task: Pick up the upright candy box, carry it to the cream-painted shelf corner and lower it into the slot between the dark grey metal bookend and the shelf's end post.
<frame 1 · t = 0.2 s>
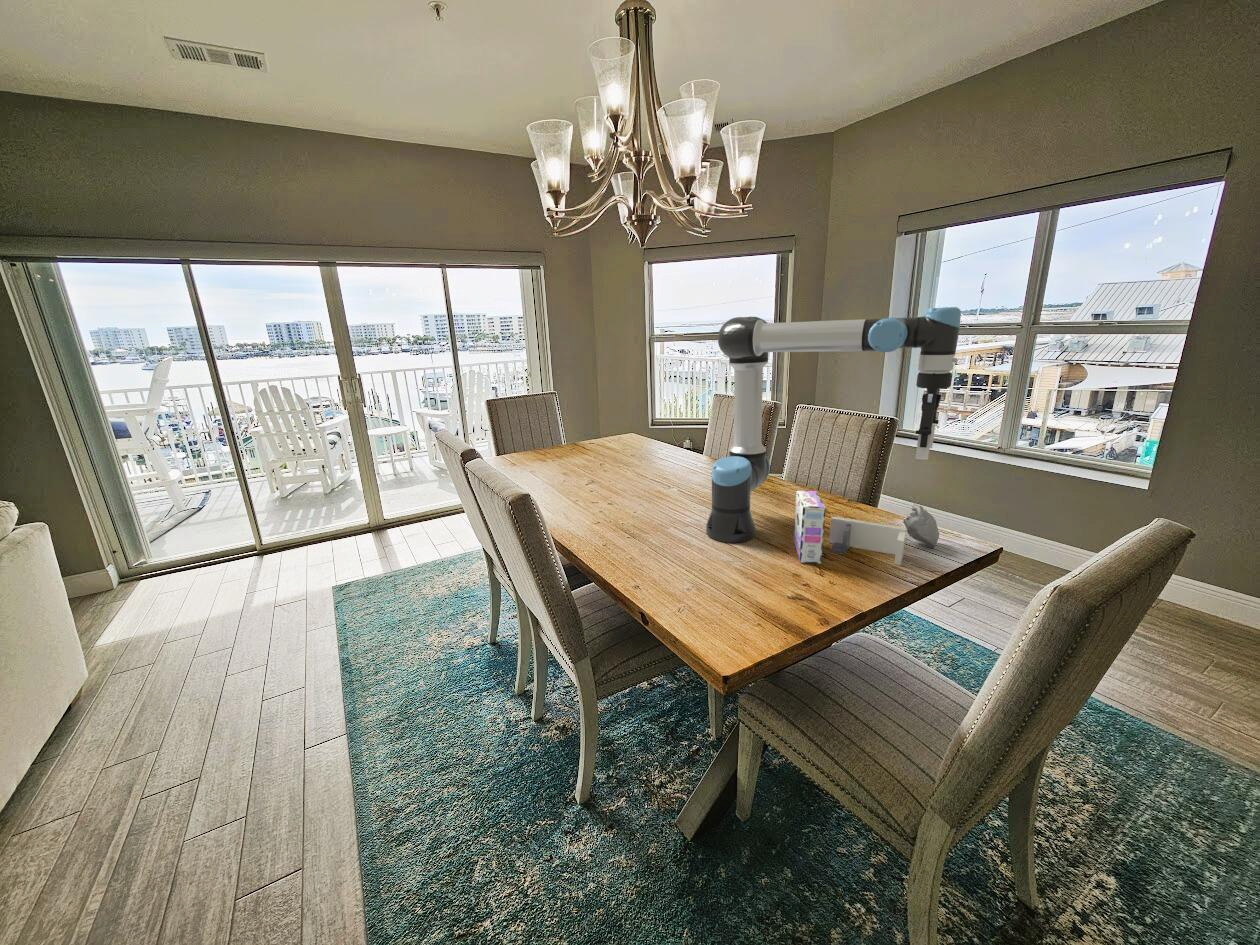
hand: (924, 453, 127), 28 cm above the table, fingers open, 13 cm apart
shelf: (860, 558, 130), on the table
candy box: (806, 553, 135), on the table
heart: (921, 546, 136), on the table
bookend: (845, 550, 136), on the table
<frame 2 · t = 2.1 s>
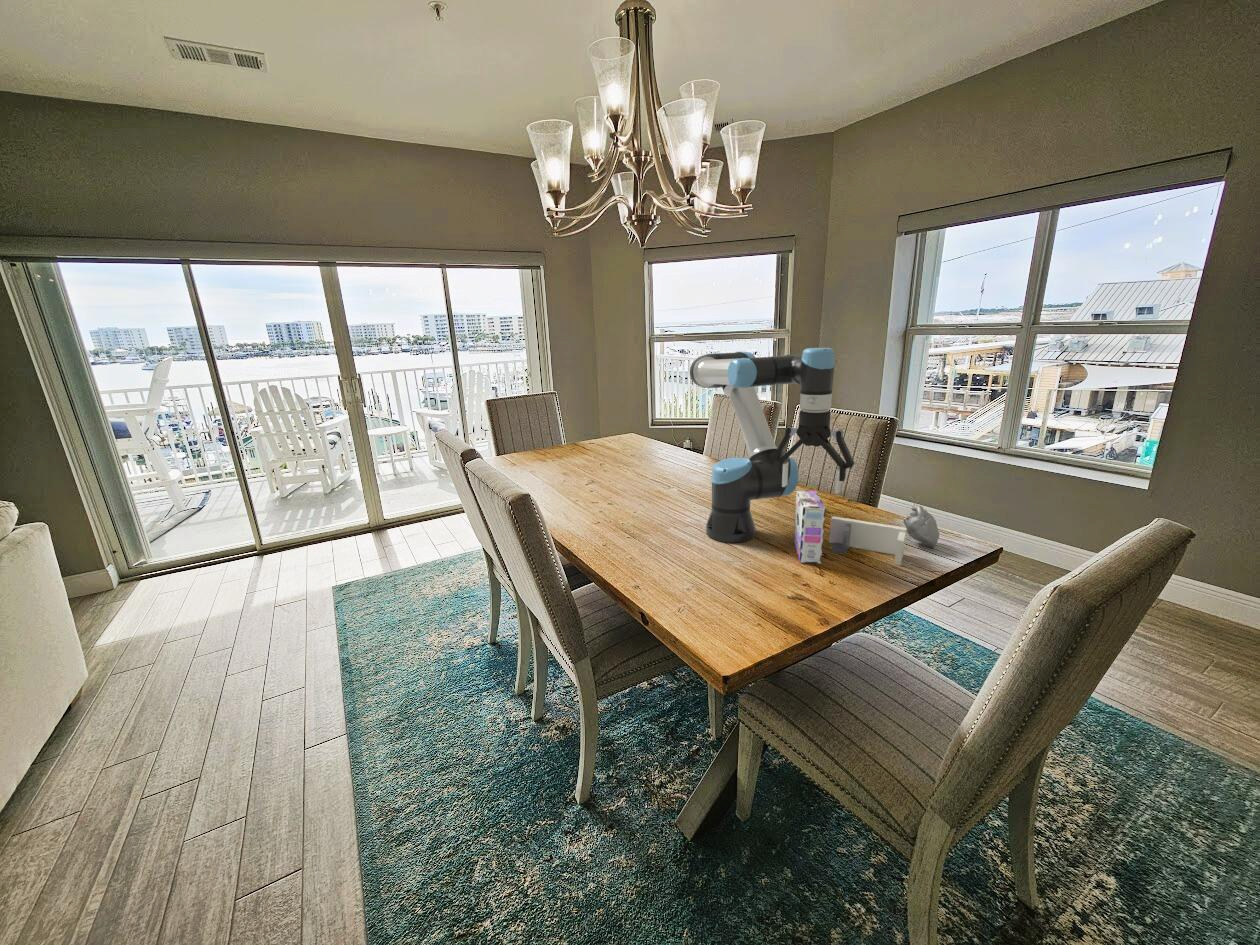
hand: (810, 489, 128), 19 cm above the table, fingers open, 13 cm apart
nothing on the table moved.
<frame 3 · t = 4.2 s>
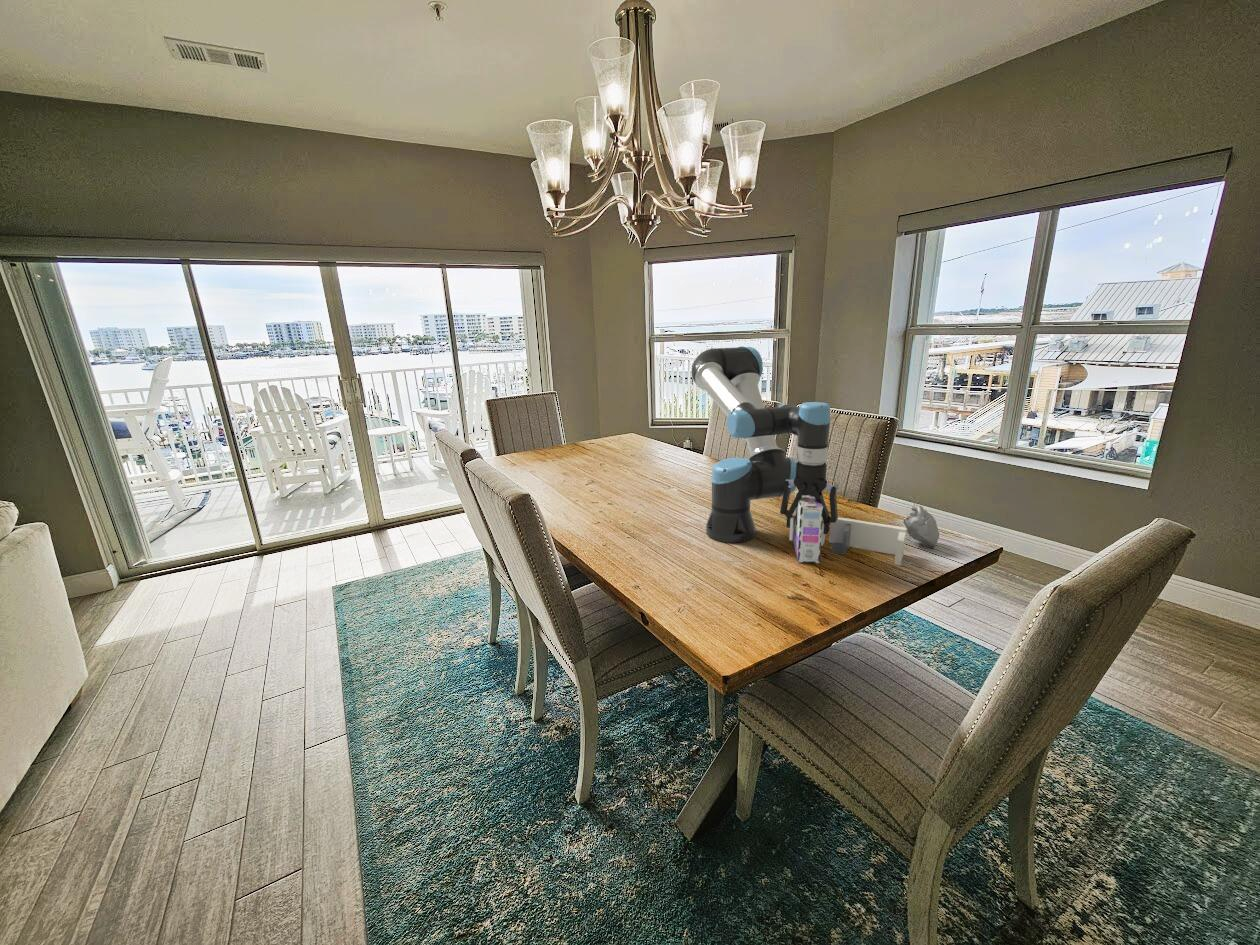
hand: (806, 541, 133), 4 cm above the table, fingers closed on candy box, 7 cm apart
candy box: (805, 553, 135), on the table, touching gripper
everything else where it was.
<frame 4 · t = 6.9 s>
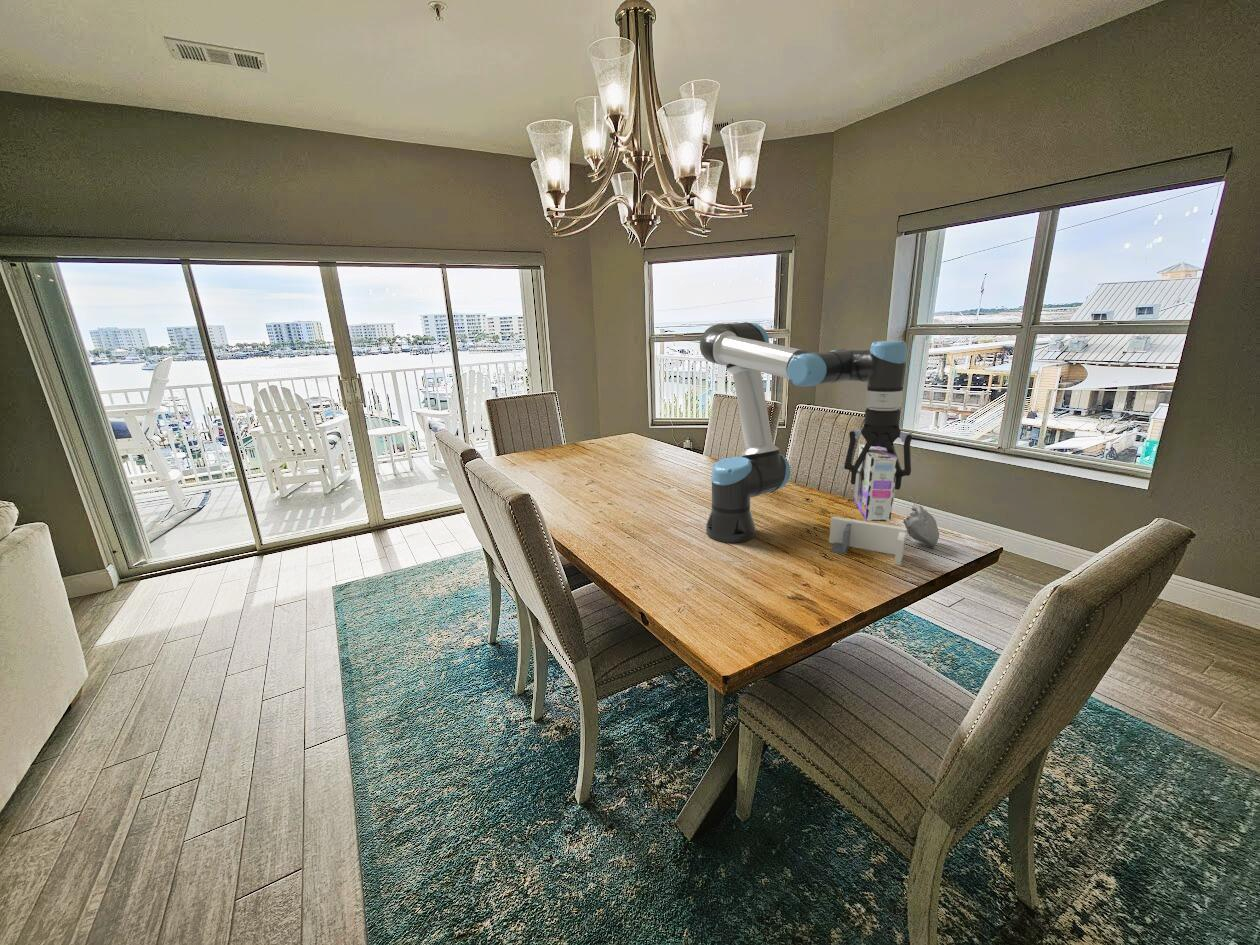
hand: (873, 498, 120), 19 cm above the table, fingers closed on candy box, 7 cm apart
candy box: (871, 512, 123), point 15 cm above the table, touching gripper
everything else where it was.
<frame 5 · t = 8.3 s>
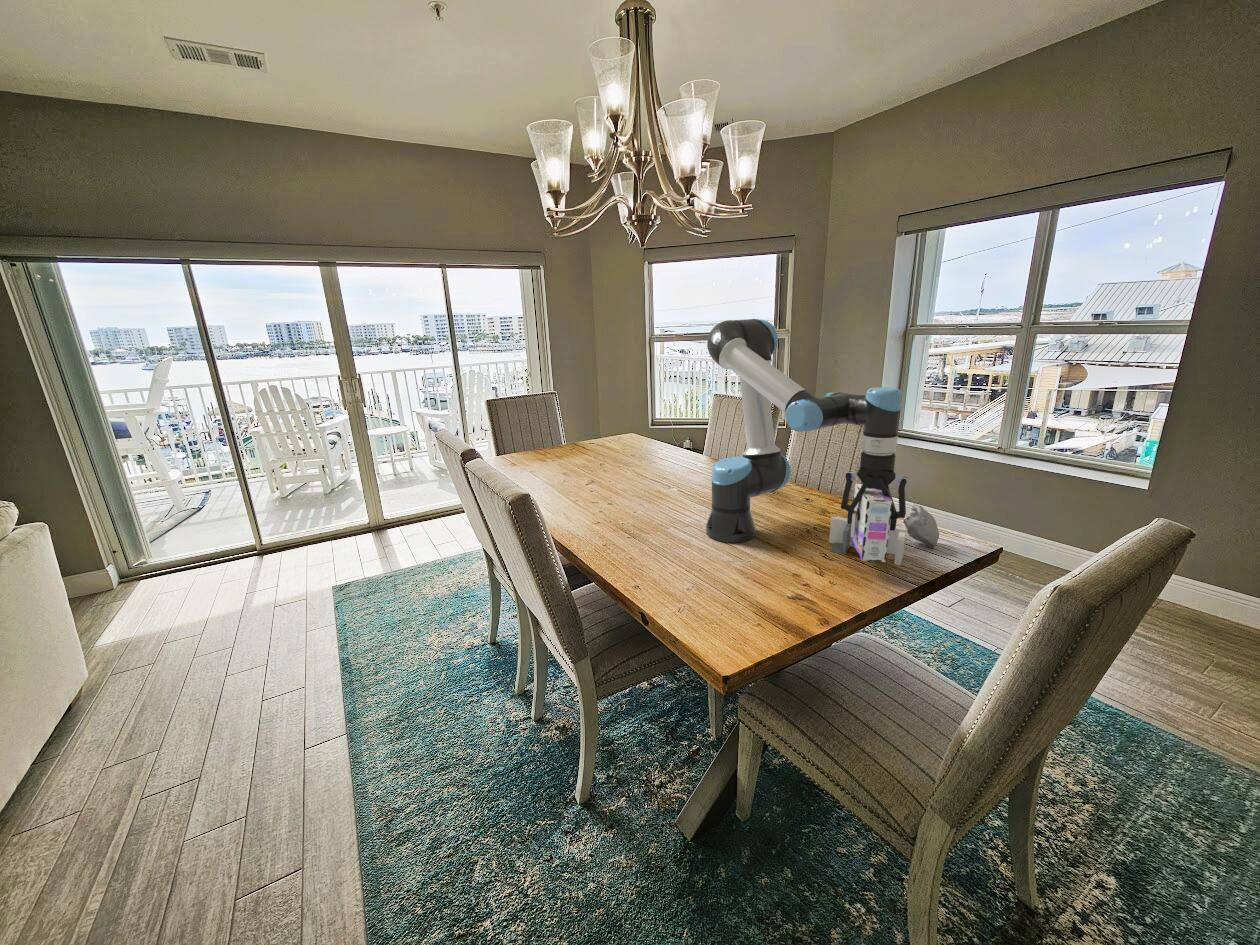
hand: (869, 538, 123), 8 cm above the table, fingers closed on candy box, 7 cm apart
candy box: (867, 551, 126), point 4 cm above the table, touching gripper
everything else where it was.
when the fingers open (6 cm above the table, at t = 9.6 s): candy box drops 1 cm, on the table.
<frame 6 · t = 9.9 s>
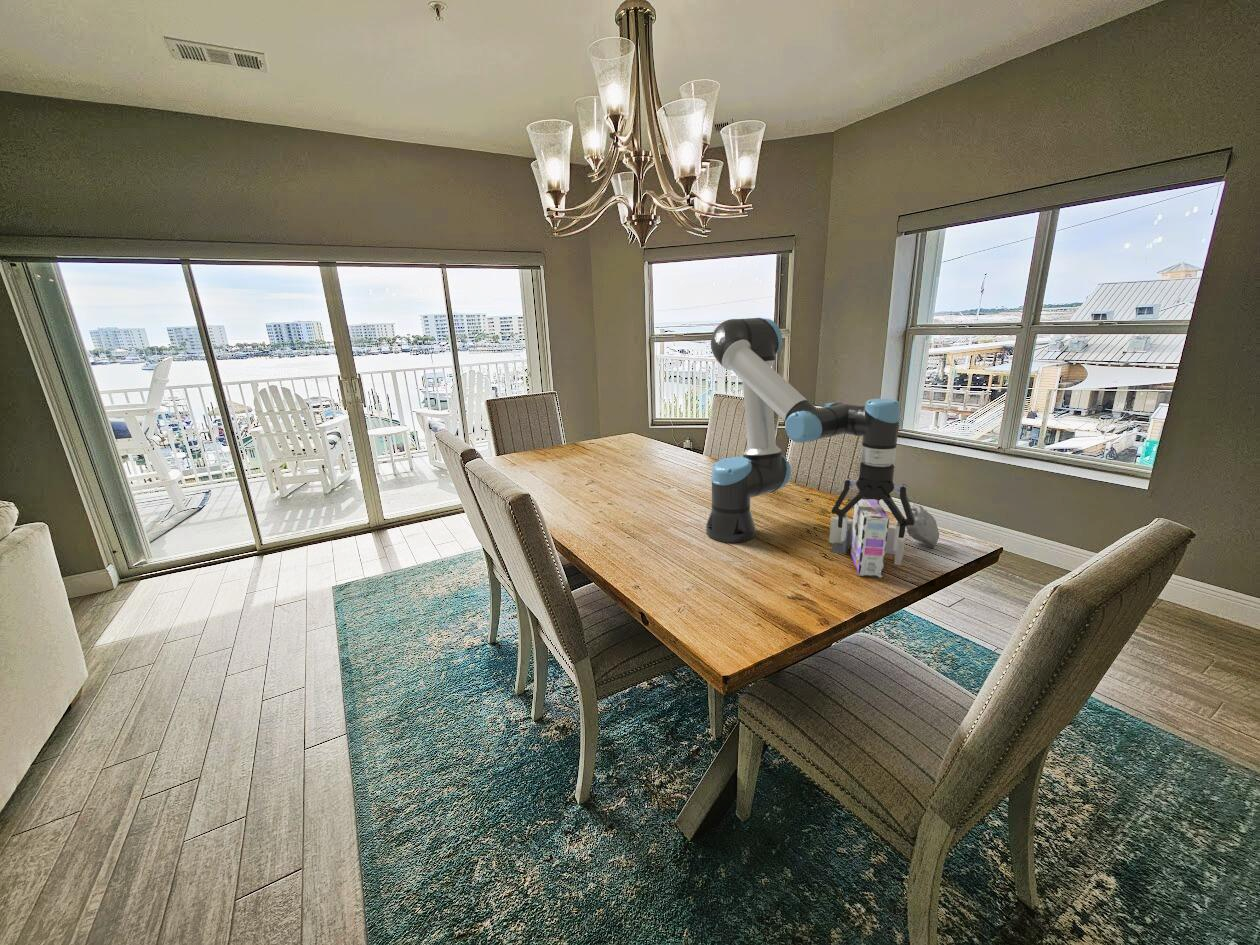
hand: (868, 543, 124), 7 cm above the table, fingers open, 11 cm apart
candy box: (865, 565, 127), on the table
everything else where it was.
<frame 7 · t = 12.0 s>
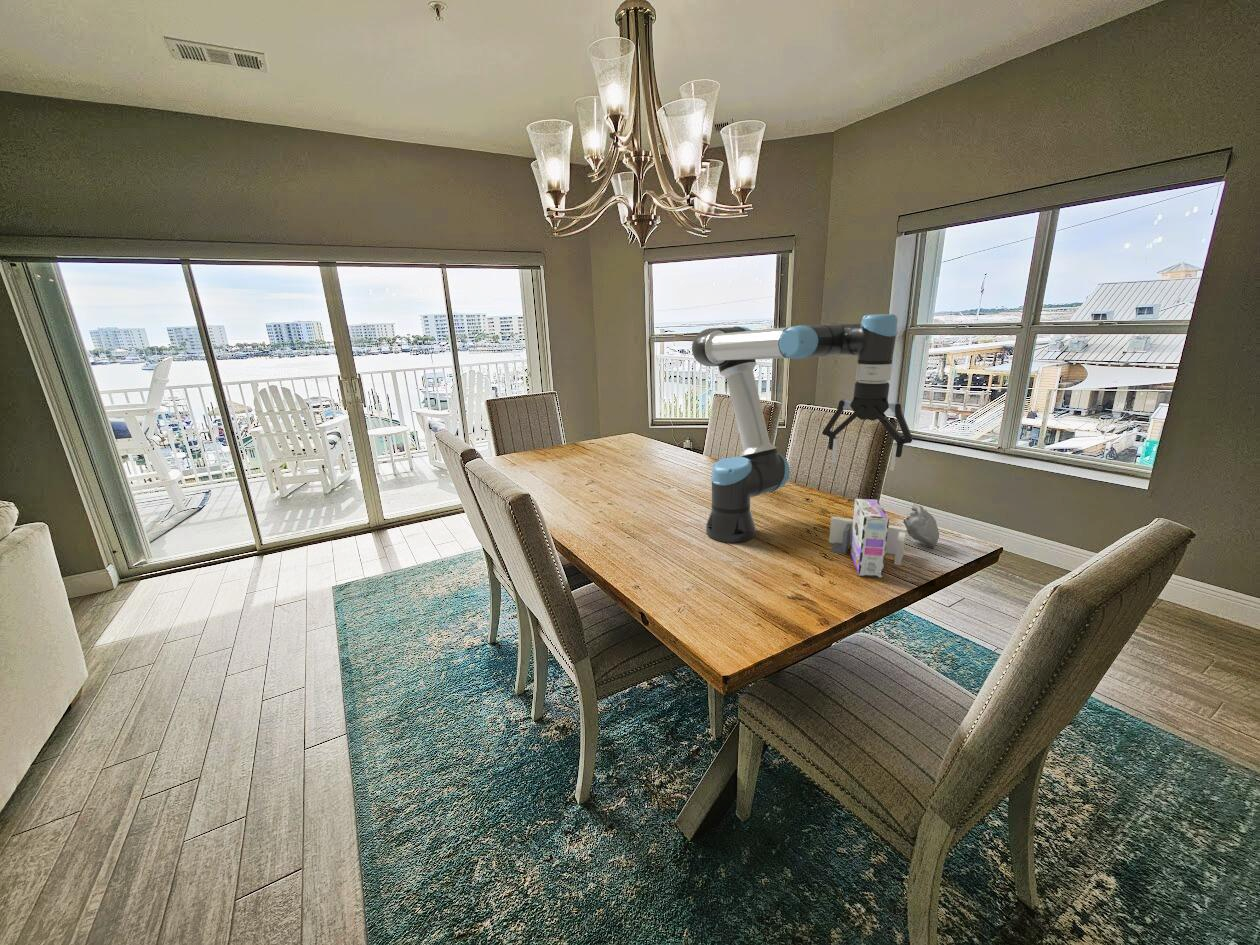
hand: (862, 465, 122), 27 cm above the table, fingers open, 13 cm apart
nothing on the table moved.
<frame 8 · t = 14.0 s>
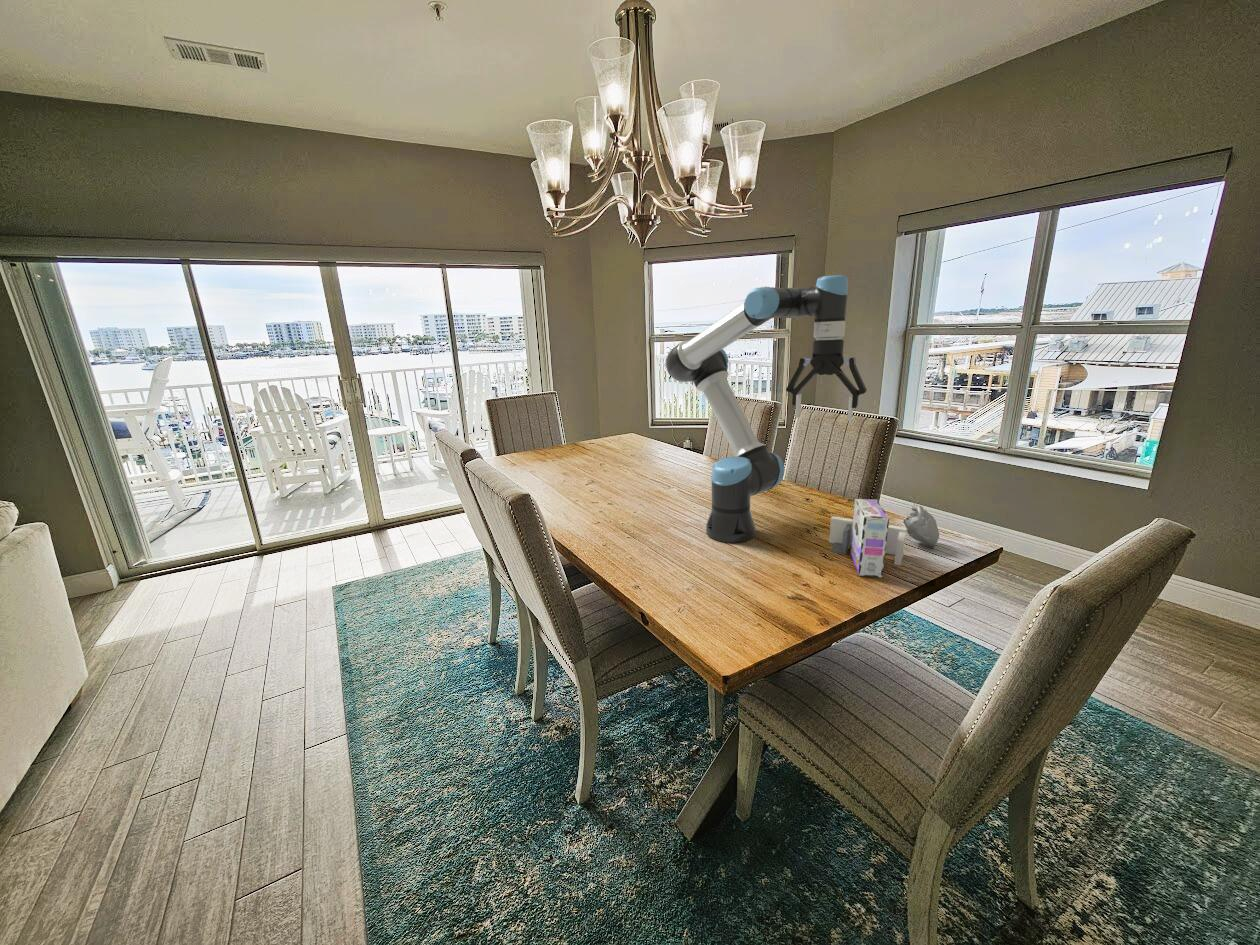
hand: (822, 418, 132), 37 cm above the table, fingers open, 13 cm apart
nothing on the table moved.
at the end: candy box inside the target area (0.5 cm from its centre), on the table; candy box tilted 0°; the gripper is holding nothing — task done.
